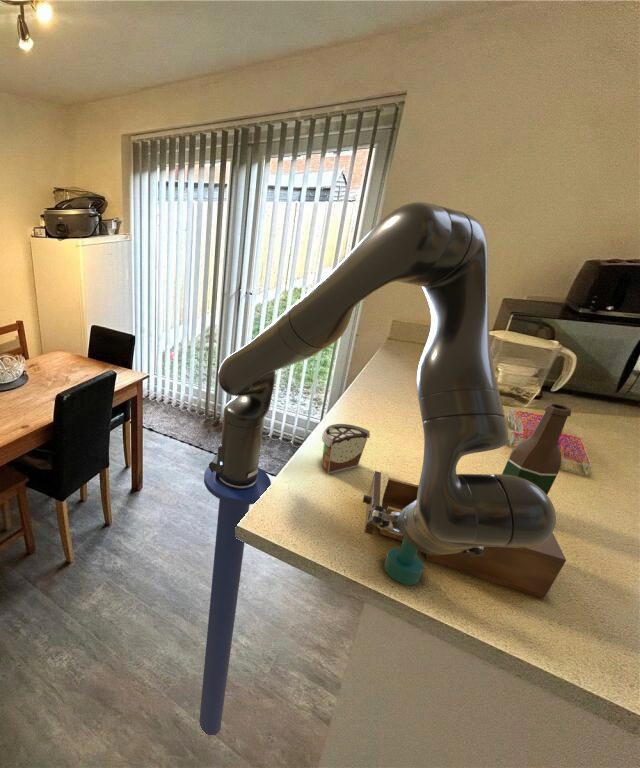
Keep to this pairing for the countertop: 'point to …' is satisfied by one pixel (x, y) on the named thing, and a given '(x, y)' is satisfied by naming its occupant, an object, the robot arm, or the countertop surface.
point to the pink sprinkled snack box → (560, 441)
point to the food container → (343, 446)
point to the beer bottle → (540, 450)
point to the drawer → (389, 499)
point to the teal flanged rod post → (404, 564)
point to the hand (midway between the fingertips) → (411, 534)
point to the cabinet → (512, 566)
